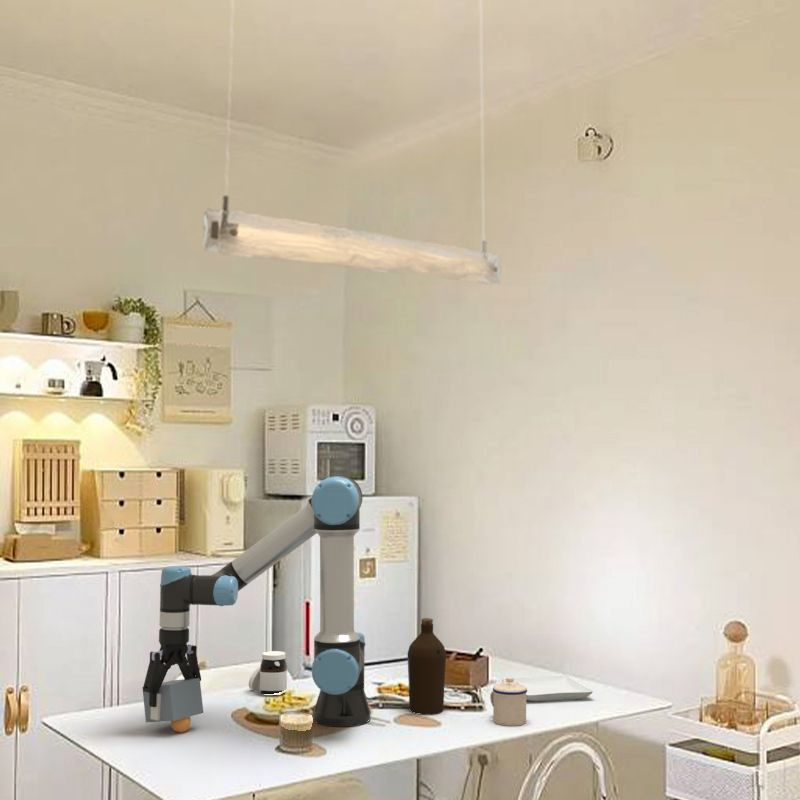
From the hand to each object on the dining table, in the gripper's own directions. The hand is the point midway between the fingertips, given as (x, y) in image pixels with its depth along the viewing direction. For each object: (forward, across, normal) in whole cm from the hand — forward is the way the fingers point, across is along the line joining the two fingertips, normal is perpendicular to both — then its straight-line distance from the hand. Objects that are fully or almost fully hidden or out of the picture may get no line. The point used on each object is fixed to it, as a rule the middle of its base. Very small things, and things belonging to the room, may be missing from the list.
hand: (171, 715), depth 271 cm
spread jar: (+4, -45, -9) cm, 46 cm away
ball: (+1, 0, +4) cm, 4 cm away
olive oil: (+3, -56, +40) cm, 69 cm away
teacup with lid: (+3, -60, +63) cm, 87 cm away
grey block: (0, 0, +1) cm, 1 cm away
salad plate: (+3, -94, +57) cm, 110 cm away
